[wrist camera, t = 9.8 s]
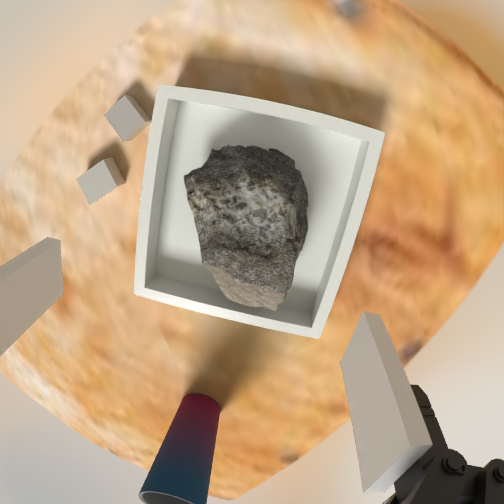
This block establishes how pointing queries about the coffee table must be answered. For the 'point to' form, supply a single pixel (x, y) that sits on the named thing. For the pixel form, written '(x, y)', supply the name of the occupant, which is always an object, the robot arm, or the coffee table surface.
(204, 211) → the rock
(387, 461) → the robot arm
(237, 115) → the bin
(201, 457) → the cup
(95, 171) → the grey small block
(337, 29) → the coffee table surface
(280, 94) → the coffee table surface
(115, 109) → the chip
